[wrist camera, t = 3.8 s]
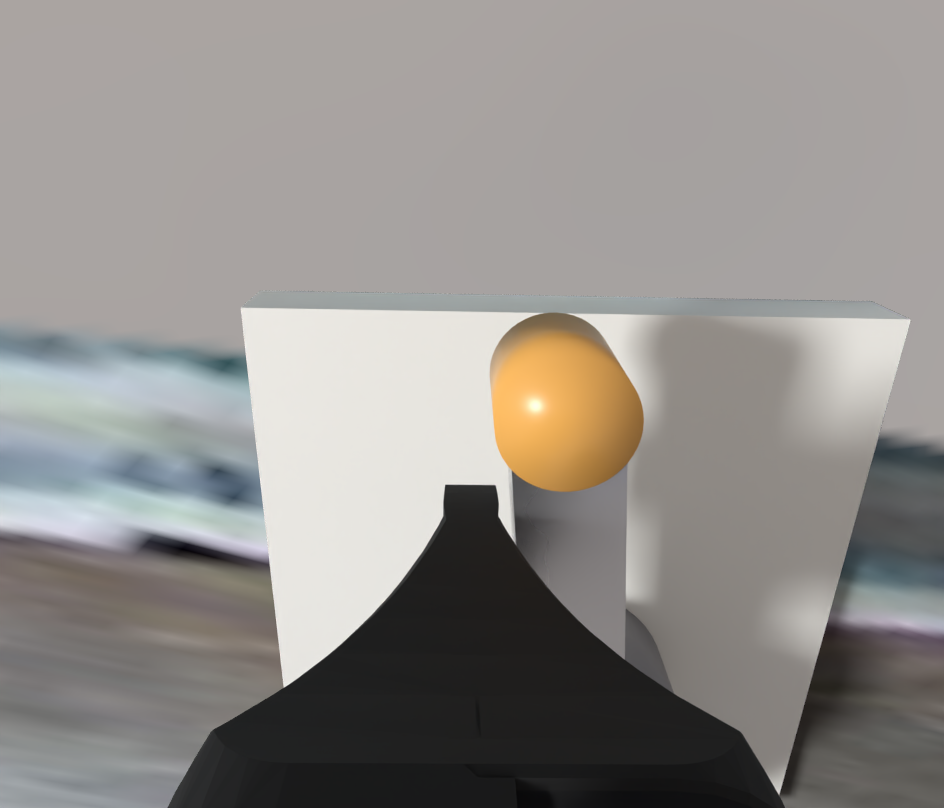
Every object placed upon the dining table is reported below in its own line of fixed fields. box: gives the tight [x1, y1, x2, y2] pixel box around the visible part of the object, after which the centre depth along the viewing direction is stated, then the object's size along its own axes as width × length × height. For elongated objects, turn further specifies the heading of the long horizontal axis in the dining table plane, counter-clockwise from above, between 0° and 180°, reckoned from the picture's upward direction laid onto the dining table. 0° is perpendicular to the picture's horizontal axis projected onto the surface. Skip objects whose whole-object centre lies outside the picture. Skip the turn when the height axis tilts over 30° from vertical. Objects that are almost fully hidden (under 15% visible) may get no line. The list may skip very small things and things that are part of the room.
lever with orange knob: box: [490, 312, 644, 659], centre depth 12 cm, size 14×6×2 cm, turn 4°
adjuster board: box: [241, 291, 911, 794], centre depth 17 cm, size 16×14×4 cm
